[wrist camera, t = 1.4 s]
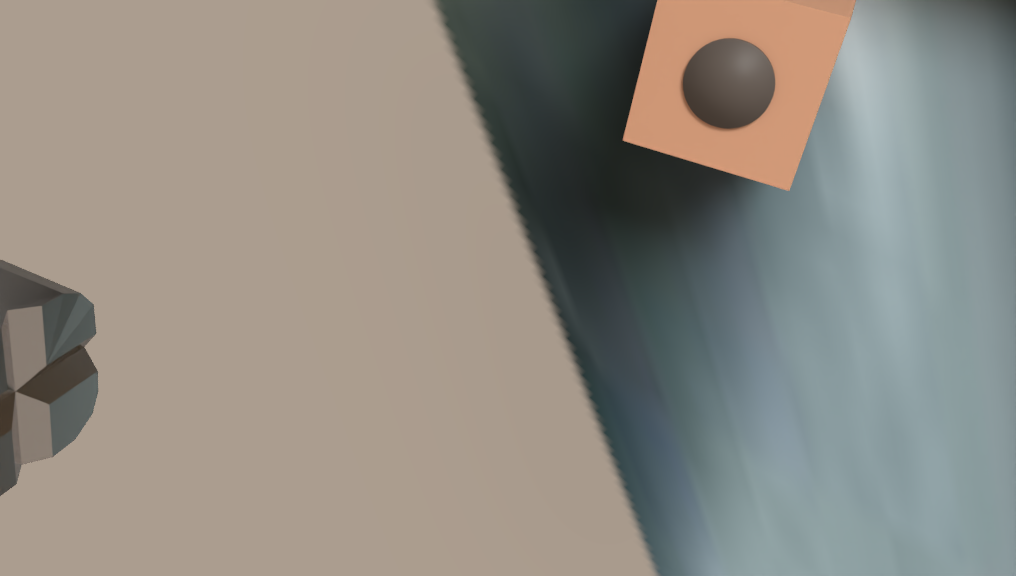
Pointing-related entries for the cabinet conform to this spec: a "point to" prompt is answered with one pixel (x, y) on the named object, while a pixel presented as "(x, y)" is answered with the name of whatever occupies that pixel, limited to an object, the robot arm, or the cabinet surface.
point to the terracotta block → (736, 82)
